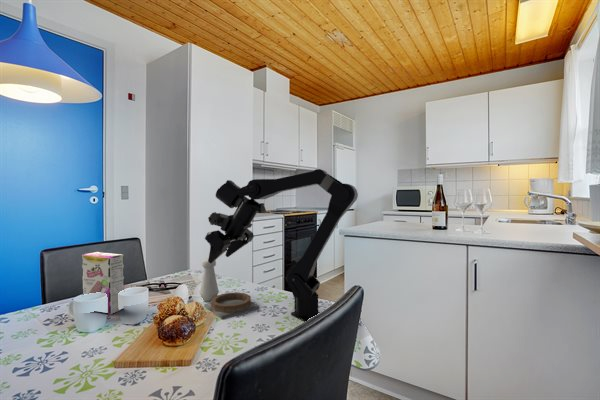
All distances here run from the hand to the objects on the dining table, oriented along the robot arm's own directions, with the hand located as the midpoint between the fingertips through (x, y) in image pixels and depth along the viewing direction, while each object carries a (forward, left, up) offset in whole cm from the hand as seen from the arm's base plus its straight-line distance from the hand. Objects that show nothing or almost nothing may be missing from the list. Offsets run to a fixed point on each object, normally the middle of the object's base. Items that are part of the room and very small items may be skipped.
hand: (218, 259), depth 92 cm
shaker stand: (-5, -2, -14) cm, 15 cm away
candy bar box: (+18, +27, -14) cm, 36 cm away
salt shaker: (+6, 0, -14) cm, 15 cm away
